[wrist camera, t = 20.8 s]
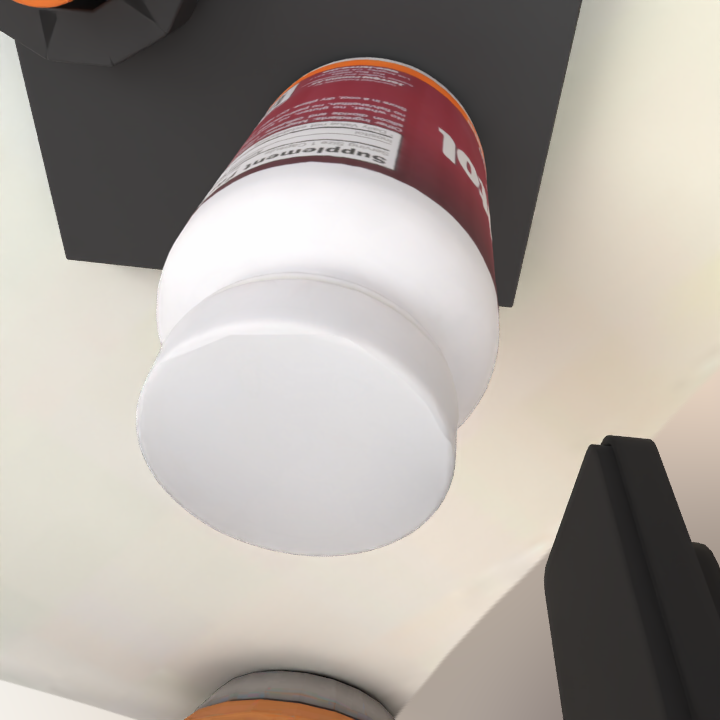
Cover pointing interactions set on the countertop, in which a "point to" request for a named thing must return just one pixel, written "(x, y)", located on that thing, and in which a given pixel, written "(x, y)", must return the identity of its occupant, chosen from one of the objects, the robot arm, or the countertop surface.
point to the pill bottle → (328, 318)
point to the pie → (288, 699)
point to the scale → (265, 100)
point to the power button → (43, 3)
